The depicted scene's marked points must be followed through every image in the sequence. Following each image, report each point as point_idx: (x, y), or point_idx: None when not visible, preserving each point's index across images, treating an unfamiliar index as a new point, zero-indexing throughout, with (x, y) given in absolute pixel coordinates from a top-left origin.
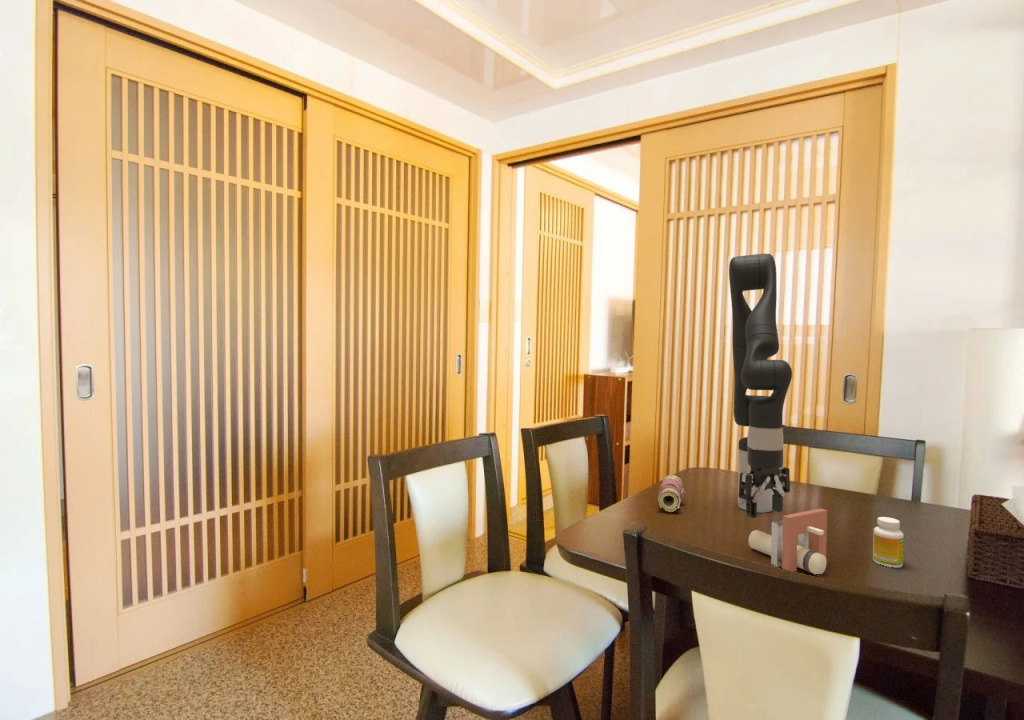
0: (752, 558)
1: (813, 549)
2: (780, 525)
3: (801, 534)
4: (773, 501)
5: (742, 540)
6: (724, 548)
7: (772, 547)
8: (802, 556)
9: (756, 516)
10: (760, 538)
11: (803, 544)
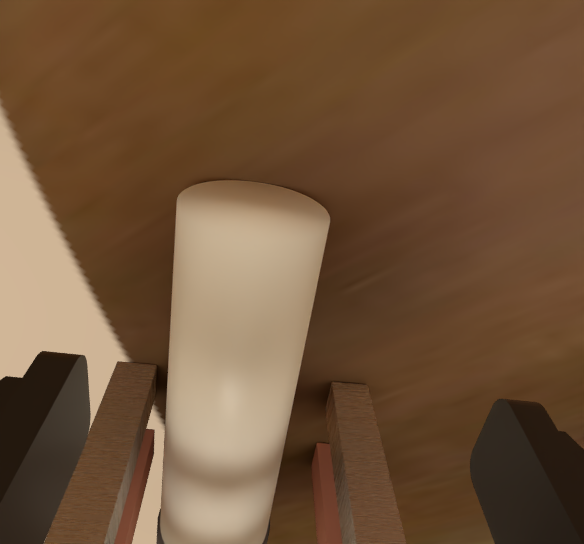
0: (93, 263)
1: (323, 513)
2: None
3: (344, 522)
4: (539, 498)
5: (332, 19)
6: (43, 45)
7: (87, 443)
8: (163, 535)
9: (80, 446)
10: (181, 311)
11: (334, 478)
